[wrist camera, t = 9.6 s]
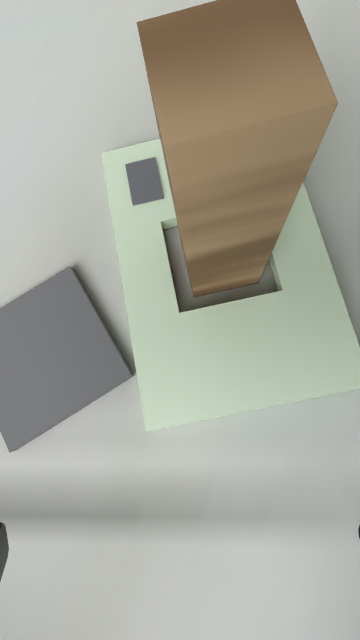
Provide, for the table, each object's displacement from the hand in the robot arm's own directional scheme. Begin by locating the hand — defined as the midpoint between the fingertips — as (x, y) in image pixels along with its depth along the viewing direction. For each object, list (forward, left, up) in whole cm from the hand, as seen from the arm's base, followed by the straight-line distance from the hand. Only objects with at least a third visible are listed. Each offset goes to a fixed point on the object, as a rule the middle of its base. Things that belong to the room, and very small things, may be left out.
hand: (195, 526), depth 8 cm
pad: (+11, +2, -9) cm, 14 cm away
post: (+6, -9, -9) cm, 15 cm away
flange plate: (+6, -9, -9) cm, 15 cm away
